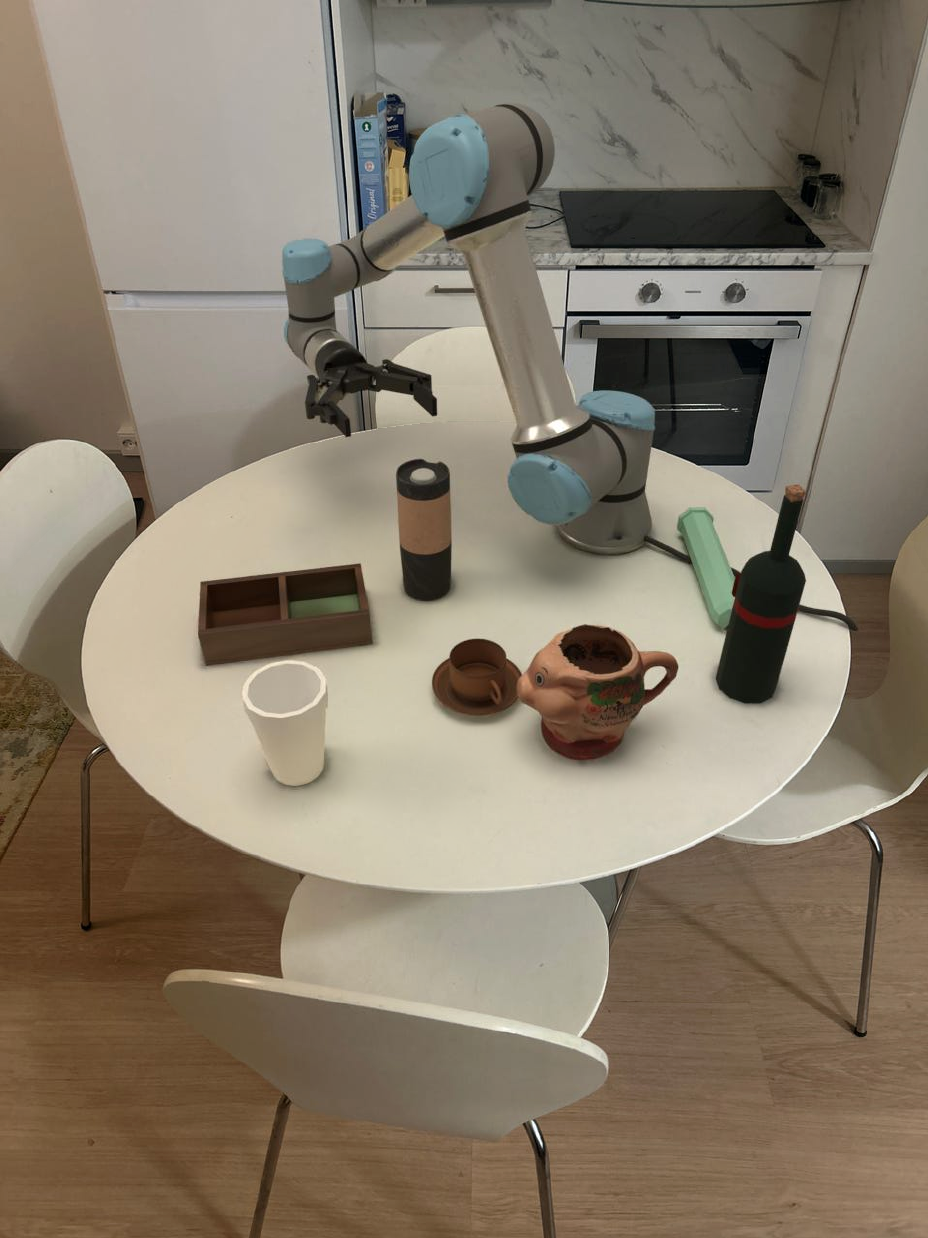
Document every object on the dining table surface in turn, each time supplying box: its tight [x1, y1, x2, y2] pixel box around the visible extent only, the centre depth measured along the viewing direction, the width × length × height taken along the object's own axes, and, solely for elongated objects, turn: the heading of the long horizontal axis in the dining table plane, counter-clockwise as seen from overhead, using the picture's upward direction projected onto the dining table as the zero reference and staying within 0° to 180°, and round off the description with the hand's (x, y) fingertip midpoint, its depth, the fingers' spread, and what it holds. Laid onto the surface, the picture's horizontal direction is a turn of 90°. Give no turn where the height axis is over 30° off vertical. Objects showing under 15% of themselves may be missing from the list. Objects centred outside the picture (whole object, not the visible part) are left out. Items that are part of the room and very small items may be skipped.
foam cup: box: [241, 659, 329, 787], centre depth 107 cm, size 10×9×13 cm
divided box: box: [197, 563, 373, 666], centre depth 130 cm, size 12×23×6 cm, turn 101°
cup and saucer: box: [431, 638, 523, 717], centre depth 119 cm, size 12×12×6 cm
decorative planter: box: [517, 623, 679, 761], centre depth 111 cm, size 20×12×14 cm, turn 107°
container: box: [676, 506, 735, 630], centre depth 138 cm, size 6×6×25 cm
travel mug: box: [395, 458, 453, 602], centre depth 133 cm, size 8×8×20 cm
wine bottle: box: [715, 483, 807, 704], centre depth 114 cm, size 8×10×30 cm
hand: (392, 417), depth 131 cm, fingers open, 13 cm apart
